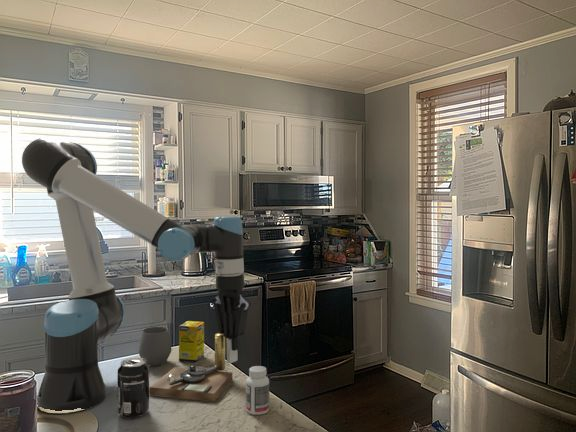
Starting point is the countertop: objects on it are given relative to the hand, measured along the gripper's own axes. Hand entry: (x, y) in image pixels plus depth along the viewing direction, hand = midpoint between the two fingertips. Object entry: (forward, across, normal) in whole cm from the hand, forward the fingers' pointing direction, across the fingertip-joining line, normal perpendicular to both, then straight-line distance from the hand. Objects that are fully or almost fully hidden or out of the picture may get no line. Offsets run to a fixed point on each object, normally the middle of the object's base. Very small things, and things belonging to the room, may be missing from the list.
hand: (232, 361), depth 124 cm
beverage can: (+5, -3, -28) cm, 28 cm away
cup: (+5, -28, -6) cm, 29 cm away
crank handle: (+3, -5, -8) cm, 10 cm away
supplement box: (+5, -23, +4) cm, 24 cm away
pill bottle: (+6, +17, -8) cm, 19 cm away
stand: (+5, -5, -9) cm, 12 cm away
